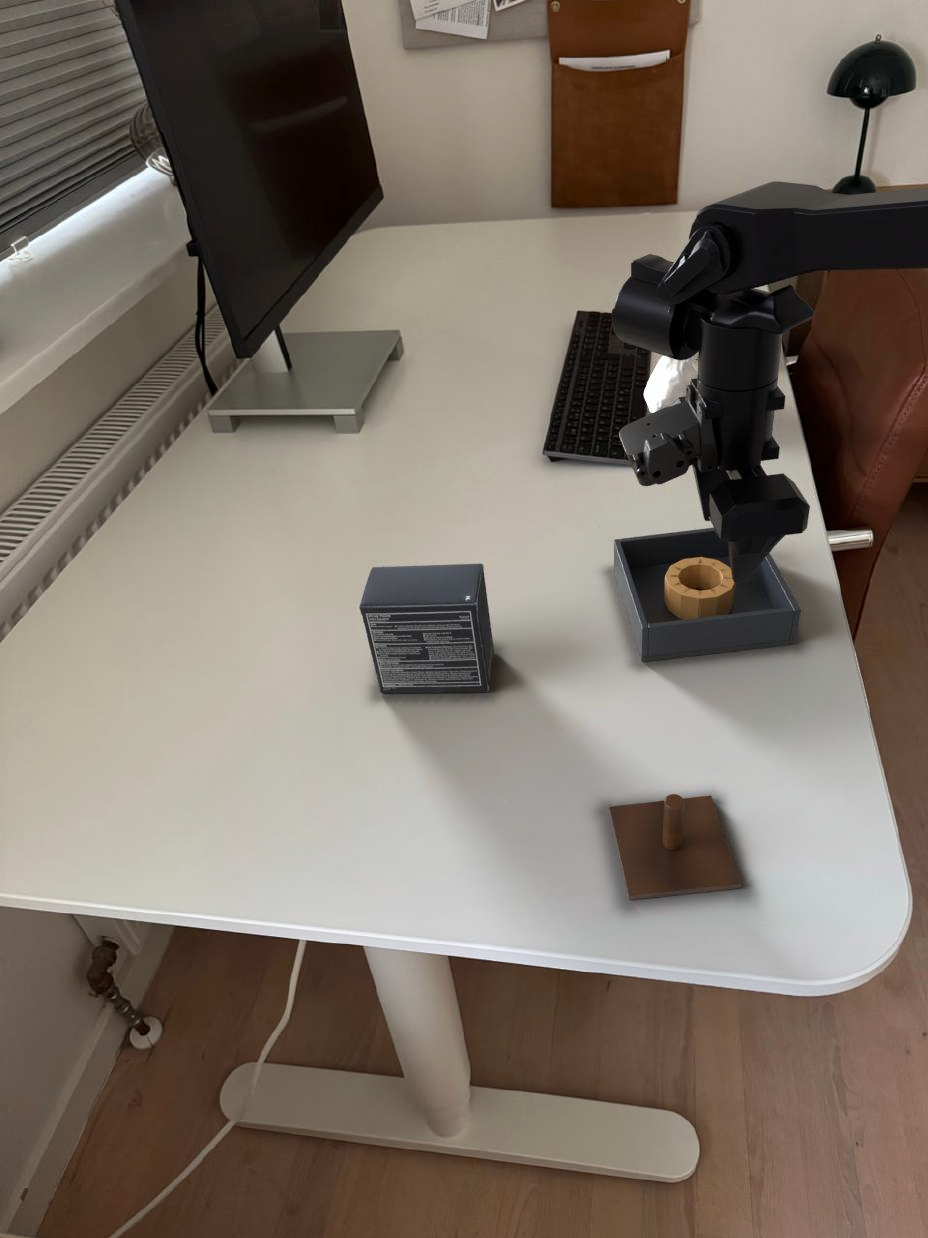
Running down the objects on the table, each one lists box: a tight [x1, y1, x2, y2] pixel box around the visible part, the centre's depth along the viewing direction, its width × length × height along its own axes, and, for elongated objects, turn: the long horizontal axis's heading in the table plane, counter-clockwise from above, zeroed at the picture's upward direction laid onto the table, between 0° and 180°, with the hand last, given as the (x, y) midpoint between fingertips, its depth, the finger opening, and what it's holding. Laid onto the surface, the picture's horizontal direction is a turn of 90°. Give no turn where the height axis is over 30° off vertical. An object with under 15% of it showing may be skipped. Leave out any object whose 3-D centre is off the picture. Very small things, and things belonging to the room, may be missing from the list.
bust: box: [643, 352, 699, 414], centre depth 117 cm, size 12×8×11 cm
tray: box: [613, 527, 802, 663], centre depth 86 cm, size 14×14×4 cm
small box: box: [358, 563, 495, 694], centre depth 81 cm, size 11×6×10 cm, turn 84°
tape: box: [664, 557, 736, 620], centre depth 86 cm, size 6×6×3 cm
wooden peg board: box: [608, 793, 742, 901], centre depth 65 cm, size 8×8×6 cm
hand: (724, 548), depth 75 cm, fingers open, 9 cm apart
